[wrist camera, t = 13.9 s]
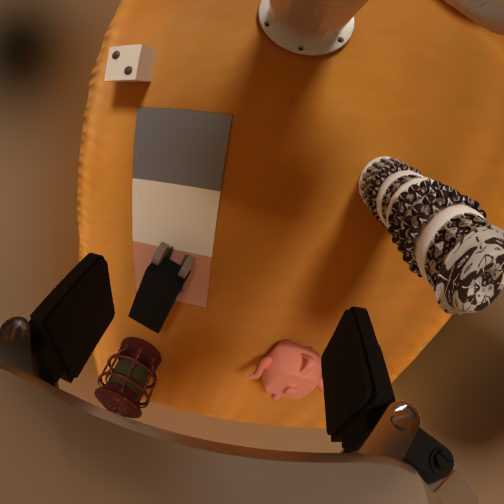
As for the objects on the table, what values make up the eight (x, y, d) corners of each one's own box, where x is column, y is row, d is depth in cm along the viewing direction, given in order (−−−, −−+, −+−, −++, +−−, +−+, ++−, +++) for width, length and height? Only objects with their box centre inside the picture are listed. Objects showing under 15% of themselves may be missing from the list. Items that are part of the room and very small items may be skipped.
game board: (138, 107, 34) (137, 107, 33) (232, 115, 34) (232, 115, 34) (136, 290, 50) (136, 291, 50) (206, 307, 50) (206, 308, 50)
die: (127, 51, 29) (109, 47, 25) (157, 50, 29) (141, 44, 25) (122, 81, 32) (103, 81, 27) (151, 81, 32) (135, 79, 27)
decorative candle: (415, 157, 34) (537, 230, 12) (406, 215, 38) (497, 325, 16) (358, 149, 34) (463, 220, 13) (352, 211, 39) (421, 336, 17)
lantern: (158, 373, 63) (122, 475, 37) (116, 352, 61) (69, 449, 35) (170, 350, 58) (127, 470, 31) (122, 326, 56) (63, 437, 30)
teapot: (323, 328, 50) (328, 370, 42) (327, 365, 56) (331, 403, 47) (250, 338, 53) (245, 379, 44) (264, 372, 59) (260, 410, 50)
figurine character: (167, 228, 44) (140, 295, 50) (151, 246, 37) (125, 319, 43) (204, 247, 45) (171, 312, 51) (193, 269, 38) (160, 337, 44)
